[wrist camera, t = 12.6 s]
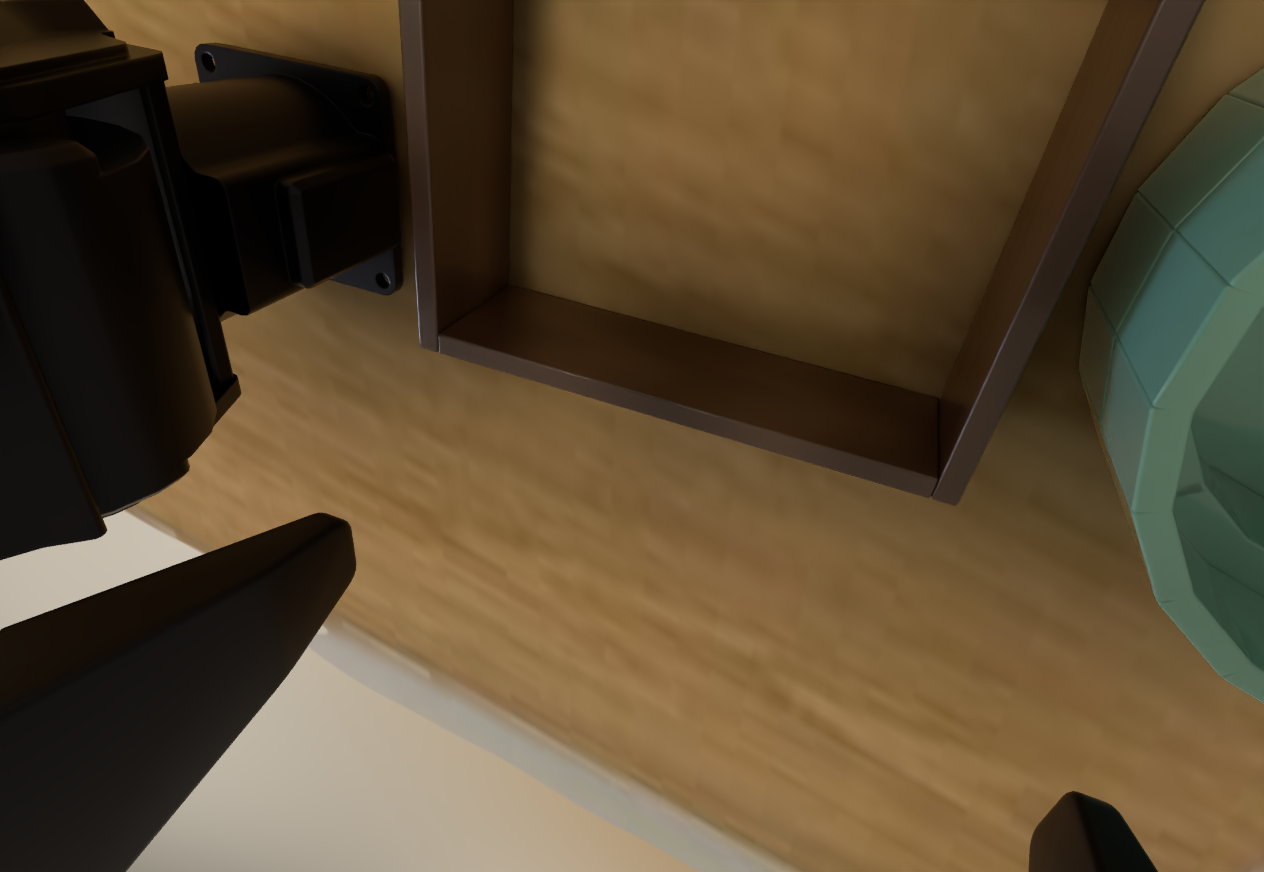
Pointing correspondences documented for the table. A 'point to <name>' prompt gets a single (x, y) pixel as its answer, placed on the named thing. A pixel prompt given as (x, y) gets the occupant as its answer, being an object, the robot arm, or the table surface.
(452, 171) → the wooden box
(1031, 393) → the table surface
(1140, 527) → the teal wide round container
